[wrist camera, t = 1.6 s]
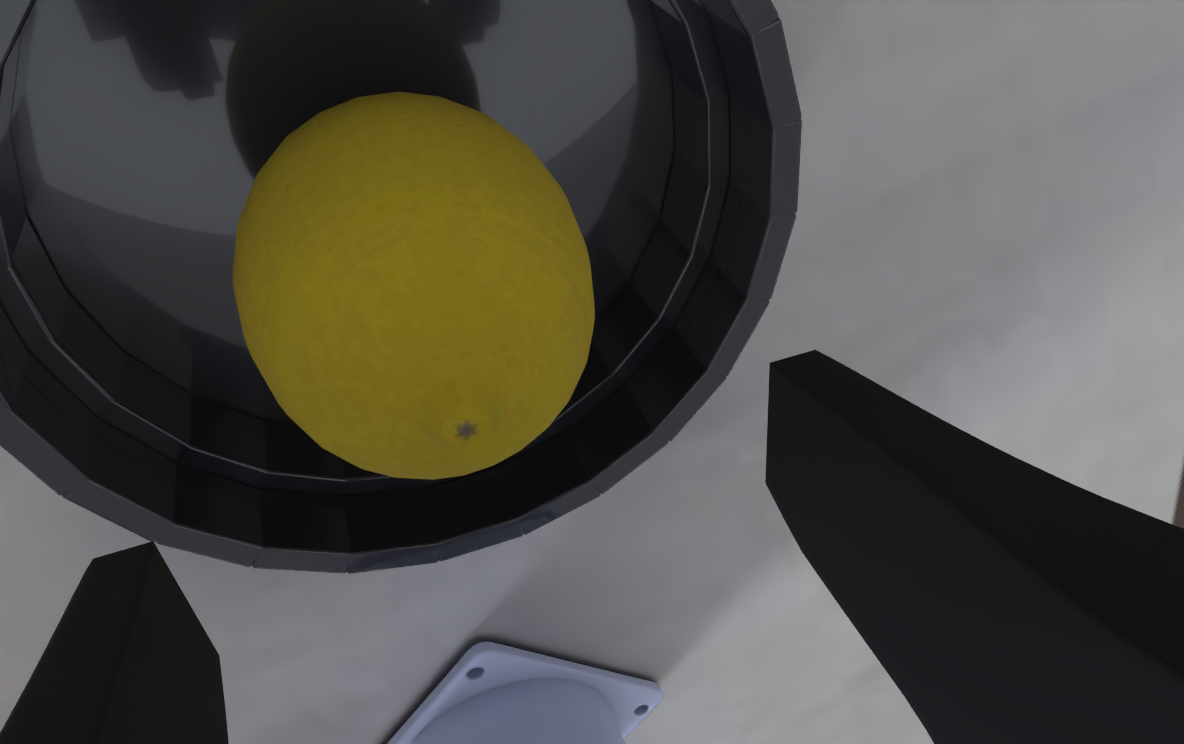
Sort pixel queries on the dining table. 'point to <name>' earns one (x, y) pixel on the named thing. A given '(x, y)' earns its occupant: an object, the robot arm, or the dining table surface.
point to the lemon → (413, 286)
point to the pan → (219, 192)
